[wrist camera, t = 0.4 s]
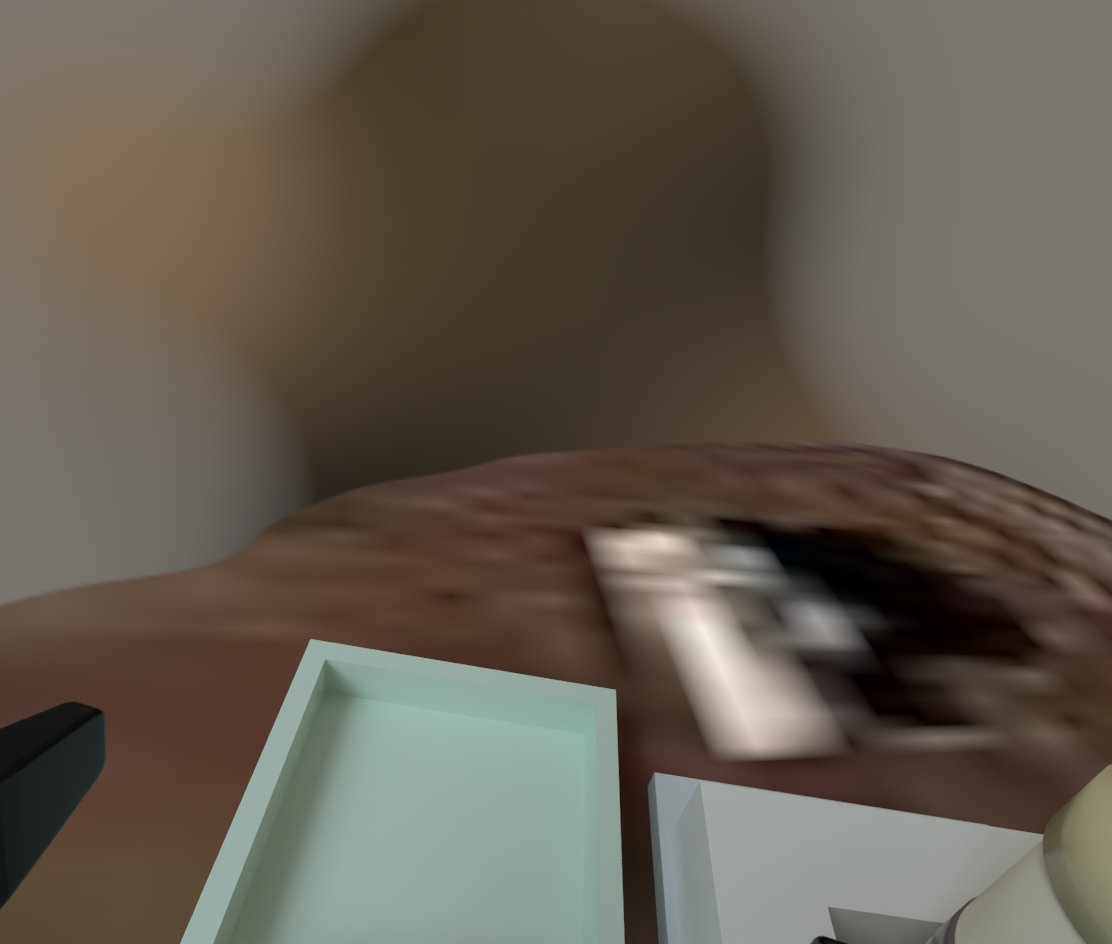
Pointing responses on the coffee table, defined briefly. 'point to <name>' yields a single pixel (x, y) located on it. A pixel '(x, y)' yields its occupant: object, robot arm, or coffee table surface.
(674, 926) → the grey block with recess
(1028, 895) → the cream rounded cylinder
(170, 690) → the coffee table surface
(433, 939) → the parts tray
